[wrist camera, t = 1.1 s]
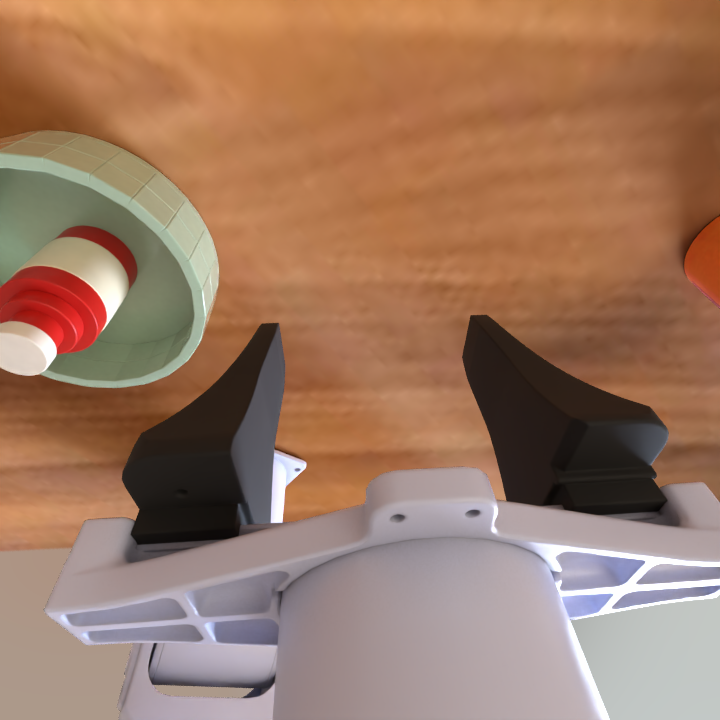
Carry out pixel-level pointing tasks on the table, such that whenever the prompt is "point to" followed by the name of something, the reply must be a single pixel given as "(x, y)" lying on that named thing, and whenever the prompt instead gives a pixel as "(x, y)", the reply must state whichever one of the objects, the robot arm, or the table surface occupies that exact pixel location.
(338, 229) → the table surface
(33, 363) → the sauce bottle
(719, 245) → the paper cup
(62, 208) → the pan
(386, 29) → the table surface
